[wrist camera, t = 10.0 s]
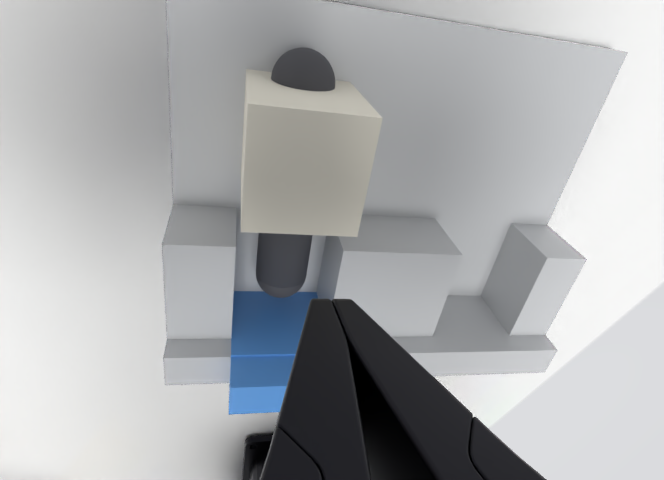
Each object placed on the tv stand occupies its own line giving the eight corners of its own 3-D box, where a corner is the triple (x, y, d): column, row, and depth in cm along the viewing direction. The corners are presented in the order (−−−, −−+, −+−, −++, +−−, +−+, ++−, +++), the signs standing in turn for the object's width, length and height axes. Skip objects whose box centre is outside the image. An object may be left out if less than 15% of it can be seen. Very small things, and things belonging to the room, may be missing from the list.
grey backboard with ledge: (495, 305, 25) (563, 397, 20) (179, 303, 21) (158, 417, 16) (610, 48, 18) (763, 85, 13) (169, -26, 14) (126, -18, 9)
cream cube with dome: (317, 278, 21) (333, 347, 17) (235, 276, 20) (234, 349, 16) (355, 50, 16) (391, 78, 12) (247, 34, 15) (249, 60, 11)
